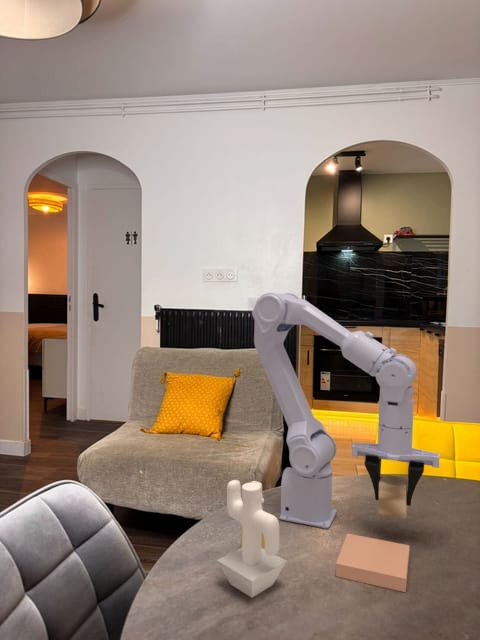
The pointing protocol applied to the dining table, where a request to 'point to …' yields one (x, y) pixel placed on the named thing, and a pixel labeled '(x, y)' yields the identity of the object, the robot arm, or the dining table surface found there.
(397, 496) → the beech block
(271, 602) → the dining table surface
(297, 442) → the robot arm
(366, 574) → the riser
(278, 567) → the figurine
